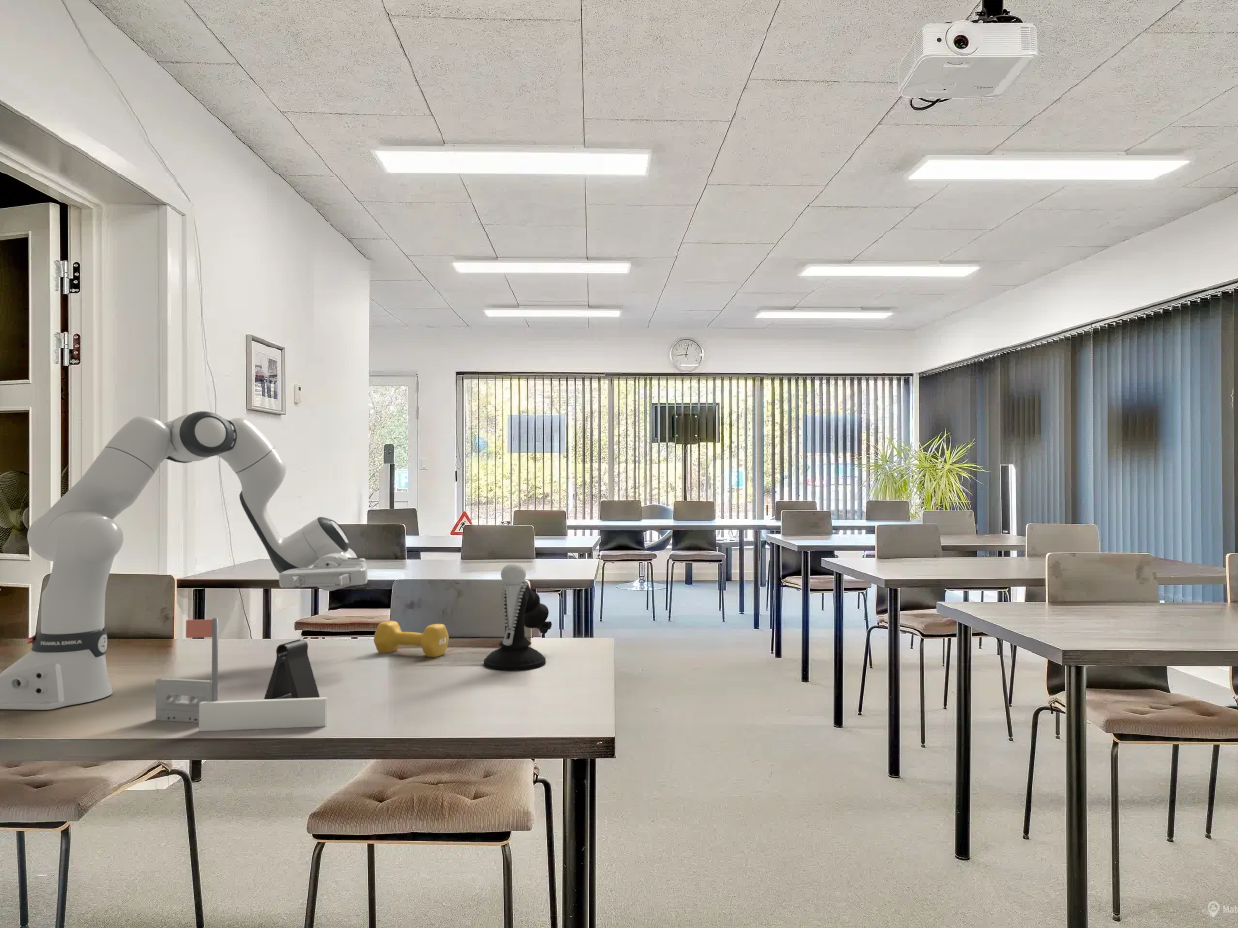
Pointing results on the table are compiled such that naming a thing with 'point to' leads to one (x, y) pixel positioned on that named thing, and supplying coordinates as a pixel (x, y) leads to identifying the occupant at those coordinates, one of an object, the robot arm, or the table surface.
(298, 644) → the phone stand
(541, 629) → the sculpture
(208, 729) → the flag on white base
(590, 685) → the table surface
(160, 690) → the cassette
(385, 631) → the dumbbell
